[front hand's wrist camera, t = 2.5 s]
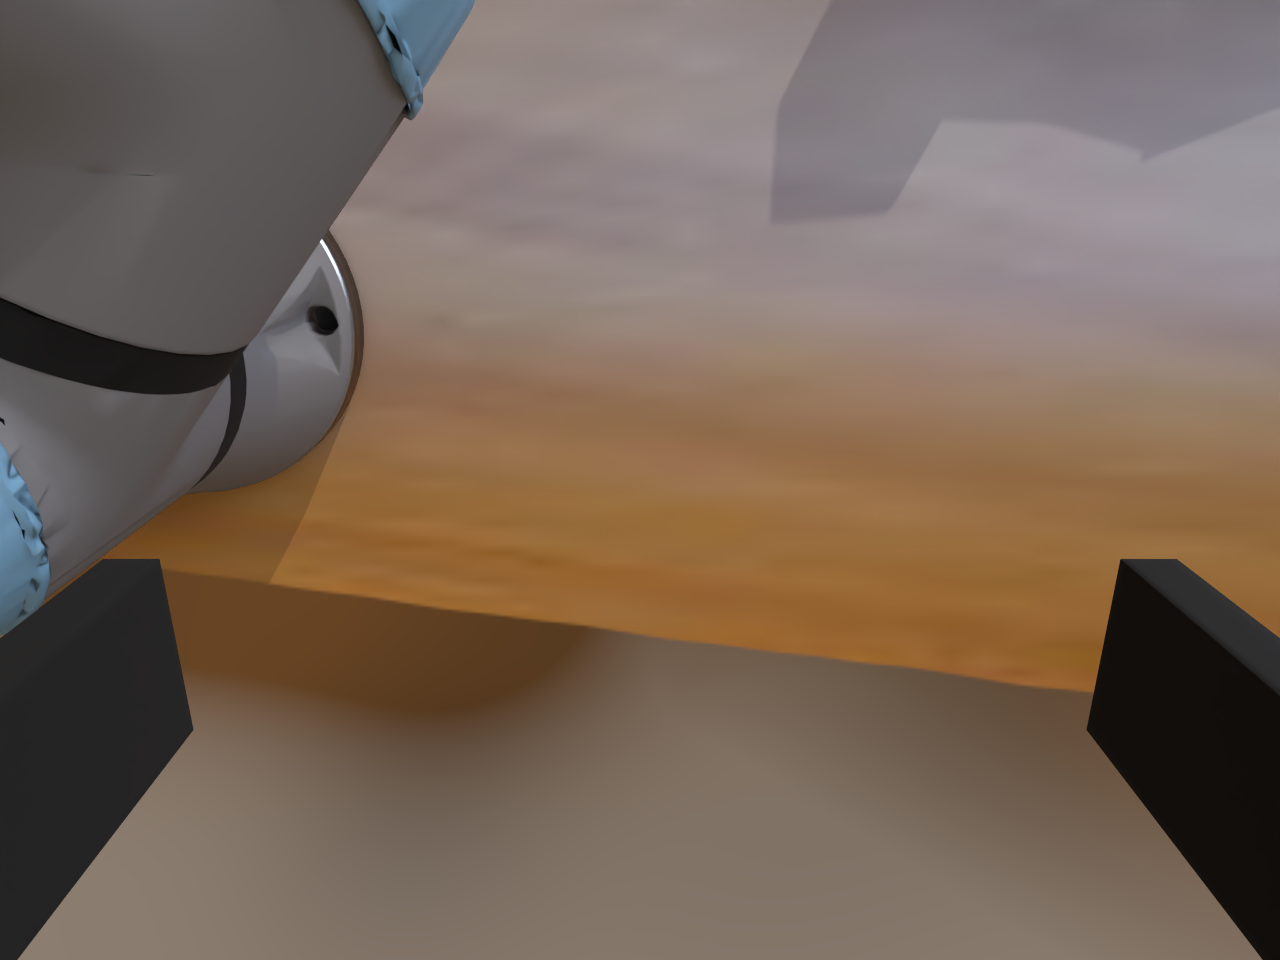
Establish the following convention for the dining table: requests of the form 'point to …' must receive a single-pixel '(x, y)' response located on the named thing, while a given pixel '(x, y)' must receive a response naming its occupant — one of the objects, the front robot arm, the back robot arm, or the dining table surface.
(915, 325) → the dining table surface
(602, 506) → the dining table surface
